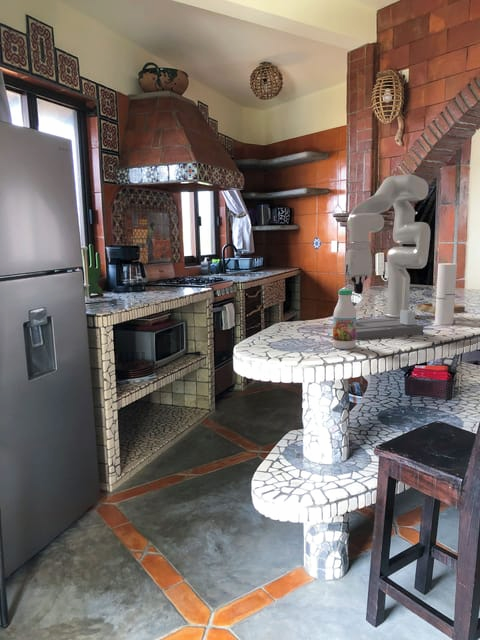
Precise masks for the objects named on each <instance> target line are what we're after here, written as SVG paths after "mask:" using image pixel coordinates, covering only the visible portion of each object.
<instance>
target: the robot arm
mask: <svg viewBox="0 0 480 640" xmlns="http://www.w3.org/2000/svg"><path fill="white" fill-rule="evenodd" d="M428 195H429V184H428V182H427V181H426V180H425V179H423V178H422V177H419V176H418V175H415V174H409V173H408V174H401V175H400V174H398V175H391V176H388V177H386V178H385V179H384V180H383V182H382V183H381V184H380V186H379V187H378V189H377V190H376V192H375V193H374V195H372V196H370V197H368V198H367V199H365V200H363V201H362V202H360V203H358V204H357V205H355V207H354V208H353V209H352V211H351V212H350V213H349V215H348V217H347V220H346V227H347V229H348V234H349V235H348V245H349V246H348V249H349V250H347V251H346V253H345V259H344V269H343V270H344V273H343V274H344V275H345V280H351V281H352V283H353V291H354V294H357V295H360V294H363V291H364V284H365V281H366V280H367V279H370V278H372V276H373V275H372V273H373V257H372V252H371V251H372V250H371V249H370V247H372V246H373V243H372V242H370V233H377V232H380V231H381V230H382V229H383V228H384V226H385V218H384V217H383V215H382V214H381V213H384V212H386V211H388V210H390V209H391V208H392V207H393V209H394V222H393V228H392V230H393V231H392V241H393V242H394V243H396V244H400V245H401V244H402V245H415V246H394V247H391V248H389V250H388V251H387V253H386V263H387V273H388V274H387V276H388V277H387V301H386V303H387V304H386V305H385V306H384V309H386V311H384V312H383V314H382V315H383V316H384V317H386V318H397V319H400V310H404V309H405V310H410V290H411V289H410V287H411V285H410V283H411V277H410V274H409V272H408V271H407V269H418V270H419V269H423V268H425V266H427V263H428V258H429V252H430V251H429V250H430V242H431V228H430V225H429V224H428V223H427V222H423V221H415V216H416V210H415V208H414V207H413V205H412V204H411V203H410V202H415V201H422V200H424V199H426V198H427V196H428Z"/></svg>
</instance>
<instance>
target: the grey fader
mask: <svg viewBox="0 0 480 640" xmlns="http://www.w3.org/2000/svg"><path fill="white" fill-rule="evenodd" d="M399 319H400V323H402V324H405V325H414V324H415V321H416V320H415V319H416V312H415V311H413V310H410V309H409V310H405V309H404V310H400V318H399Z"/></svg>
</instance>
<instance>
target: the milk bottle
mask: <svg viewBox="0 0 480 640" xmlns="http://www.w3.org/2000/svg"><path fill="white" fill-rule="evenodd" d="M337 293H338V300H337V303H336V306H335V308H334V311H333V316H332V317H333V319H332V320H333V321H332V346H333V348H335V349H340V350H351V349H354V348H355V347H356V346H357V345H356V343H357V340H356V321H357V312H356V308H355V306H354V304H353V300H352V297H353V290H352V289H350V288H341V289H338V292H337Z"/></svg>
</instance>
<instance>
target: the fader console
mask: <svg viewBox="0 0 480 640" xmlns="http://www.w3.org/2000/svg"><path fill="white" fill-rule="evenodd" d="M418 334H419V335H423V334H424V326H422V325H419V324H417V323H414V325H405V324H402V323H400V318H394V317H386V318H377V319H362V320H361V319H360V320H356V341H358V339H361V340H371V338H372V339H380V338H381V339H382V337H384V338H394V337H404V335H407V336H416V335H418ZM419 335H418V336H419Z"/></svg>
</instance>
